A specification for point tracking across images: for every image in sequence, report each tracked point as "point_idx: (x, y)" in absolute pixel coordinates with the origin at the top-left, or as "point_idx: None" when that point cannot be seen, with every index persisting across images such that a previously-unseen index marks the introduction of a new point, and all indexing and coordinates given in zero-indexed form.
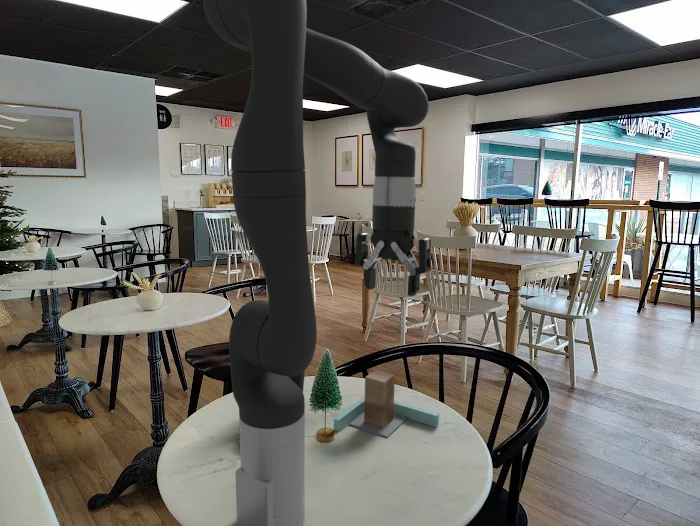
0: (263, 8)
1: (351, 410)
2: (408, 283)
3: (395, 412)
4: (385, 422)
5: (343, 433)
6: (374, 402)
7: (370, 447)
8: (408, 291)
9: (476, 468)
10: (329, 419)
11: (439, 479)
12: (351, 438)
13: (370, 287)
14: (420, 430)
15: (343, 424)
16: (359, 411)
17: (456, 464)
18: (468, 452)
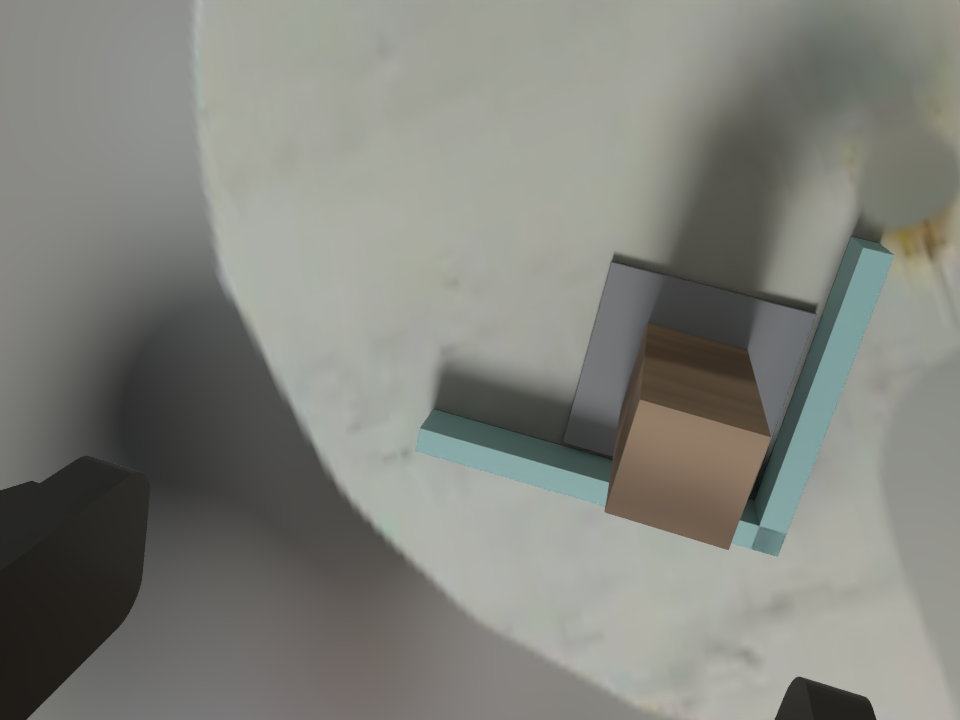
0: None
1: (822, 362)
2: (15, 557)
3: None
4: (640, 348)
5: (823, 231)
6: (697, 371)
7: (667, 161)
8: (99, 488)
9: (241, 168)
10: (930, 331)
11: (349, 41)
12: (773, 202)
13: (793, 711)
14: (490, 366)
15: (839, 281)
16: (790, 417)
17: (311, 167)
18: (285, 265)
